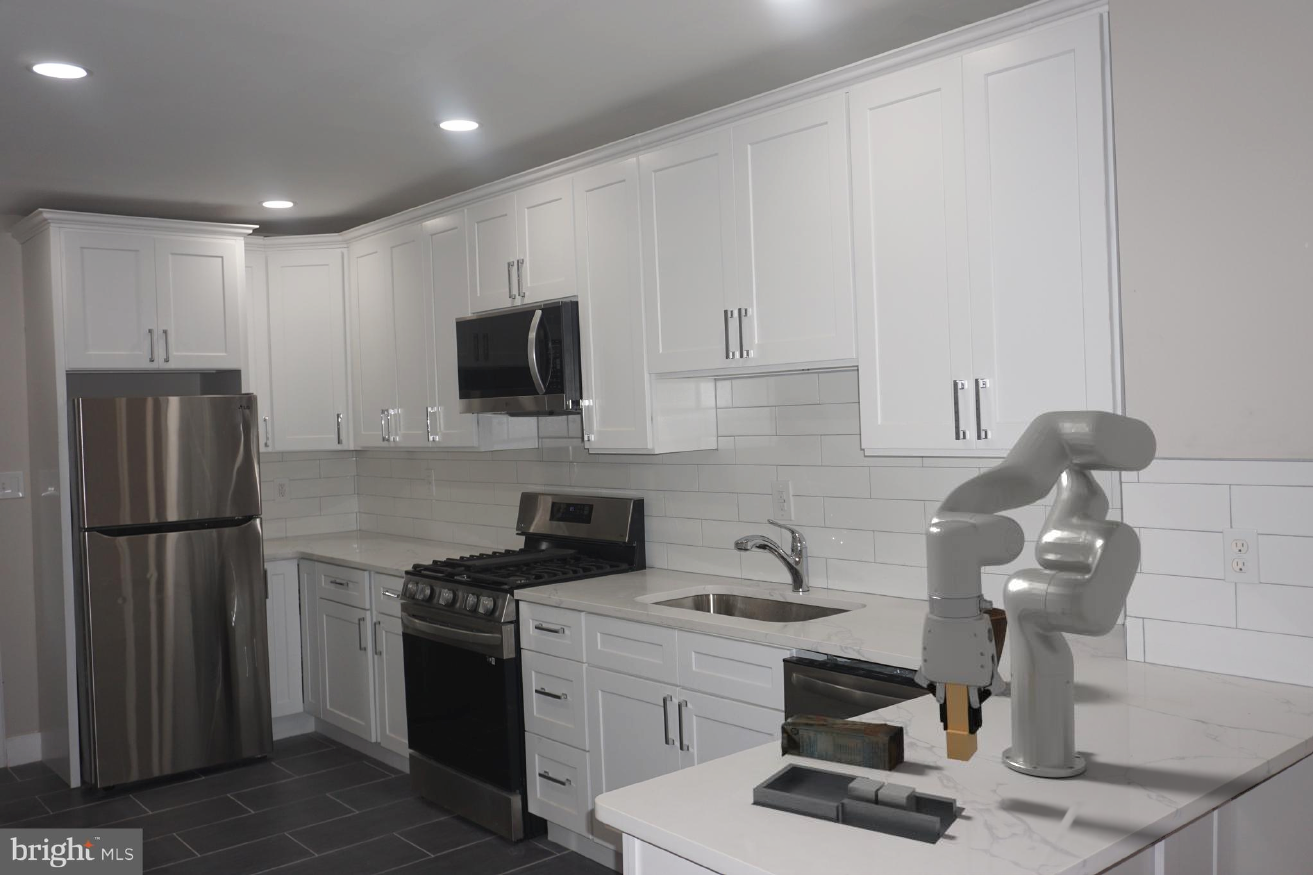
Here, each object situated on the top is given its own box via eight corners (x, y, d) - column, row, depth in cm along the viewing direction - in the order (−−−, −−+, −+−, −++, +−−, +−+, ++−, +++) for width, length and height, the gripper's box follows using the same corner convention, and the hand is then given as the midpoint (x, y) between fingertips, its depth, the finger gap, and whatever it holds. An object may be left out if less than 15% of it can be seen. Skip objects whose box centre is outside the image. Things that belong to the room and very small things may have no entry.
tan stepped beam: (957, 746, 149) (953, 667, 149) (977, 749, 148) (973, 669, 147) (947, 758, 145) (943, 677, 144) (967, 761, 143) (964, 679, 143)
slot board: (792, 779, 157) (792, 761, 157) (965, 813, 142) (965, 793, 142) (751, 809, 145) (750, 790, 145) (934, 850, 130) (934, 828, 130)
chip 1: (858, 800, 145) (858, 776, 145) (885, 805, 143) (884, 781, 143) (848, 809, 142) (847, 785, 142) (875, 815, 140) (874, 790, 140)
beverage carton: (797, 745, 174) (797, 707, 173) (907, 762, 164) (906, 723, 164) (779, 759, 167) (779, 720, 166) (892, 778, 157) (892, 736, 157)
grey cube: (888, 806, 143) (888, 782, 143) (915, 812, 141) (915, 787, 141) (878, 816, 140) (878, 791, 139) (906, 822, 137) (905, 796, 137)
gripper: (1020, 604, 144) (1025, 729, 145) (909, 596, 153) (915, 714, 154) (1006, 616, 138) (1012, 746, 138) (892, 607, 147) (898, 730, 147)
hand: (961, 728), depth 146 cm, fingers closed on tan stepped beam, 3 cm apart
